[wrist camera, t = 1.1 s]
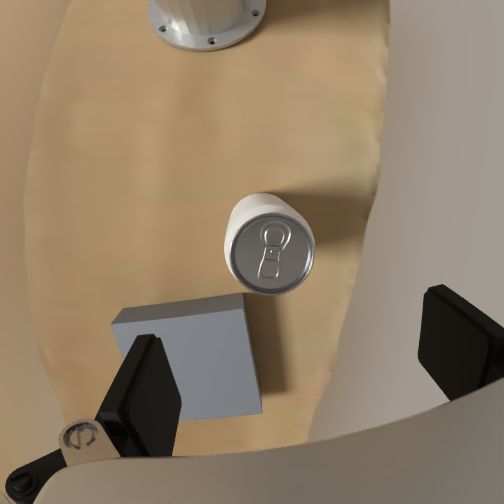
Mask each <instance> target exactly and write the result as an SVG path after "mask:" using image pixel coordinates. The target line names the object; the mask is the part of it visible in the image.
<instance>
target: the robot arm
mask: <svg viewBox="0 0 504 504" xmlns="http://www.w3.org/2000/svg"><path fill="white" fill-rule="evenodd" d="M266 1H267V0H149V2H148V11H147V14H148V19H149V22H150V24H151V26H152V28H153V30H154V31H155V33H156V34H157V35H158V36H159V37H160V38H161V39H162V40H163V41H165V42H166V43H168V44H170V45H171V46H174V47H177V48H179V49H182V50H188V51H201V52H205V51H213V50H218V49H222V48H226V47H229V46H231V45H233V44H235V43H238V42H240V41H241V40H243V39H244V38H246V37H247V36H249V35H250V34H251V33H252V32H253V31H254V30H255V29H256V28H257V26H258V25H259V24H260V22H261V21H262V18H263V16H264V14H265V9H266ZM254 15H256V16H254ZM165 30H166V31H165ZM163 31H165V32H163ZM212 42H214V43H215V44H213V45H210V44H211V43H212ZM418 359H419V362H420V363H421V365H422V366H423V367H424V368H425V370H426V371H427V372H428V373H429V375H430V376H431V377H432V378H433V380H434V381H435V382H436V383H437V385H438V386H439V387H440V389H441V390H442V391H443V392H444V394H445V395H446V396H447V398H448V399H449V400H450V402H447V403H444V404H442V405H440V406H437V407H434V408H431V409H429V410H426V411H423V412H421V413H418V414H415V415H412V416H409V417H406V418H403V419H400V420H396V421H393V422H390V423H387V424H384V425H380V426H377V427H373V428H370V429H366V430H362V431H358V432H355V433H350V434H346V435H342V436H338V437H334V438H329V439H325V440H319V441H315V442H309V443H304V444H298V445H293V446H287V447H280V448H273V449H266V450H259V451H250V452H241V453H230V454H216V455H199V456H172V452H173V447H174V442H175V437H176V431H177V426H178V421H179V416H180V412H181V407H182V400H181V396H180V393H179V390H178V387H177V384H176V382H175V379H174V376H173V373H172V370H171V367H170V364H169V361H168V358H167V355H166V352H165V349H164V346H163V343H162V340H161V338H160V337H156V336H155V334H143V335H137V337H136V338H135V340H134V342H133V344H132V346H131V348H130V350H129V352H128V353H127V355H126V357H125V359H124V361H123V363H122V365H121V367H120V369H119V371H118V373H117V375H116V377H115V379H114V380H113V382H112V384H111V386H110V388H109V390H108V392H107V394H106V396H105V398H104V400H103V402H102V404H101V406H100V409H99V411H98V413H97V415H96V417H95V419H94V420H93V419H80V420H76V421H74V422H72V423H70V424H68V425H67V426H66V427H65V428H64V429H63V430H62V432H61V433H60V436H59V445H60V449H58V450H56V451H54V452H52V453H50V454H48V455H46V456H43V457H41V458H39V459H37V460H35V461H33V462H31V463H29V464H26V465H24V466H22V467H20V468H18V469H16V470H15V471H13V472H12V473H11V474H10V475H9V477H8V478H7V480H6V485H5V488H6V492H5V493H4V494H3V493H2V492H1V491H0V504H504V328H503V327H502V326H501V325H499V324H498V323H497V322H495V321H494V320H492V319H491V318H490V317H489V316H487V315H486V314H485V313H483V312H482V311H480V310H479V309H478V308H476V307H475V306H474V305H472V304H471V303H469V302H468V301H467V300H465V299H464V298H462V297H461V296H459V295H458V294H457V293H455V292H454V291H452V290H451V289H449V288H448V287H446V286H445V285H443V284H441V285H437V286H433V287H429V288H428V290H427V292H425V294H424V299H423V311H422V322H421V332H420V340H419V349H418Z"/></svg>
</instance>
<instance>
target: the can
mask: <svg viewBox="0 0 504 504" xmlns="http://www.w3.org/2000/svg"><path fill="white" fill-rule="evenodd" d="M224 253H225V259H226V262H227V265H228V268H229V270H230V271H231V273H232V274H233V276H234V277H235V278H236V279H237V280H238V281H239V282H240V283H241V284H242V285H243V286H244V287H246V288H247V289H248V290H250V291H252V292H254V293H257V294H261V295H267V296H275V295H281V294H284V293H287V292H290V291H292V290H293V289H295V288H296V287H298V286H299V285H300V284H301V283H302V282H303V281H304V280H305V279H306V277H307V276H308V274H309V273H310V271H311V268H312V266H313V262H314V254H315V241H314V236H313V233H312V231H311V228H310V226H309V225H308V223H307V222H306V220H305V219H304V218H303V217H302V216H301V215H300V214H299V213H298V212H297V211H295V210H294V209H293V208H292V207H290V206H289V205H288V204H287V203H285V202H284V201H283V200H281V199H280V198H278V197H277V196H275V195H272V194H267V193H257V194H252V195H249V196H247V197H245V198H243V199H242V200H241V201H240V202H239V203H238V204H237V205H236V206H235V207H234V209H233V211H232V213H231V216H230V219H229V223H228V227H227V232H226V237H225V244H224Z"/></svg>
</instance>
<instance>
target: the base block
mask: <svg viewBox="0 0 504 504" xmlns="http://www.w3.org/2000/svg"><path fill="white" fill-rule="evenodd" d="M111 327H112V330H113V332H114V335H115V338H116V341H117V344H118V346H119V349H120V352H121V354H122V357H123V360H124V359H125V357H126V355H127V353H128V352H129V350H130V348H131V346H132V344H133V342H134V340H135V338H136V337H137V335H143V334H155V336H156V337H160V338H161V340H162V343H163V346H164V349H165V352H166V355H167V358H168V361H169V364H170V367H171V370H172V373H173V376H174V379H175V382H176V384H177V387H178V390H179V393H180V396H181V400H182V407H181V412H180V416H179V420H198V419H212V418H224V417H234V416H243V415H252V414H260V413H263V412H262V401H261V391H260V386H259V380H258V375H257V370H256V364H255V359H254V353H253V348H252V342H251V337H250V331H249V326H248V320H247V314H246V309H245V303H244V298H243V293H238V294H231V295H224V296H218V297H210V298H203V299H196V300H189V301H181V302H174V303H166V304H158V305H150V306H142V307H133V308H125V309H122V310H121V312H120V313H119V314H118V315H117V317H116V318H115V319H114V321H113V322H112V323H111Z"/></svg>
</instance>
